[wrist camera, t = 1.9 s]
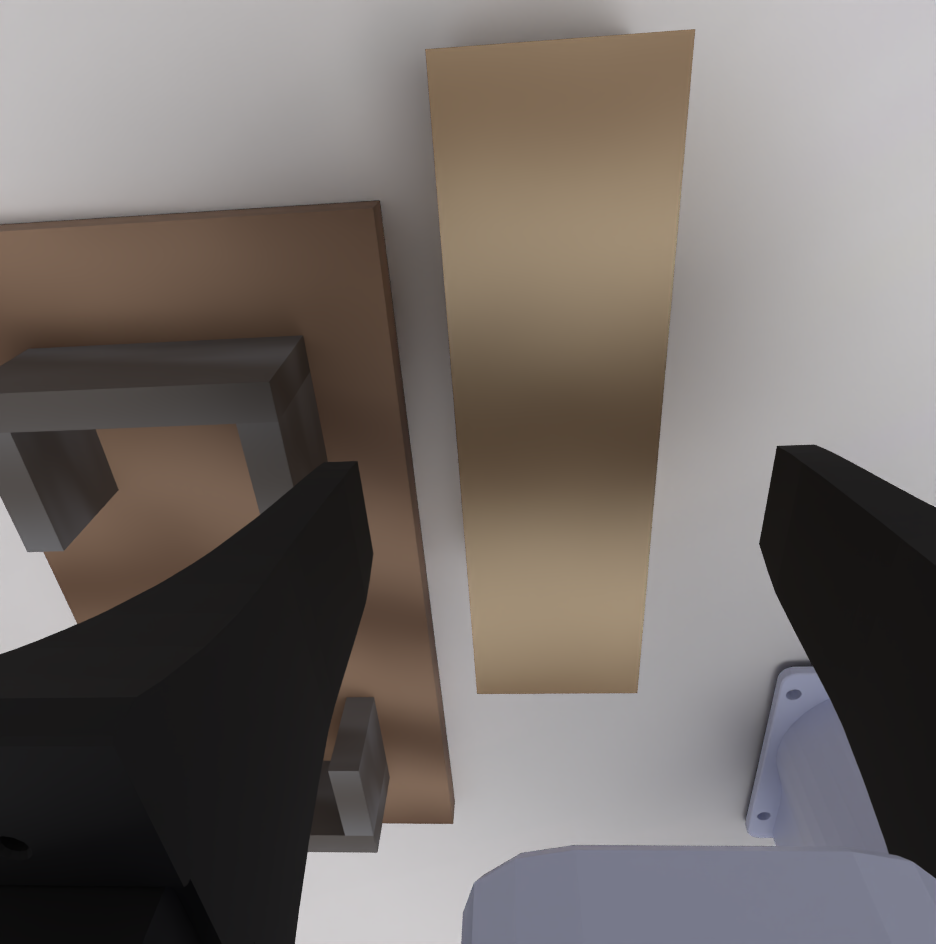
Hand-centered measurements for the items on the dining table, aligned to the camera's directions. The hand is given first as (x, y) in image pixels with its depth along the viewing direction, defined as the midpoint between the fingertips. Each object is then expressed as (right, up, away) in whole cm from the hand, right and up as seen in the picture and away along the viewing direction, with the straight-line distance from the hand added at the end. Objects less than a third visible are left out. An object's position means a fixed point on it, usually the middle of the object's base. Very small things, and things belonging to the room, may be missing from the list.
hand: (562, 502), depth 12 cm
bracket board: (-9, -3, +12) cm, 15 cm away
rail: (0, +4, +7) cm, 8 cm away
